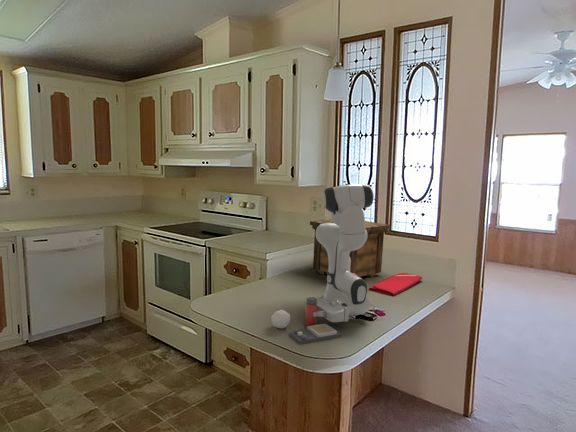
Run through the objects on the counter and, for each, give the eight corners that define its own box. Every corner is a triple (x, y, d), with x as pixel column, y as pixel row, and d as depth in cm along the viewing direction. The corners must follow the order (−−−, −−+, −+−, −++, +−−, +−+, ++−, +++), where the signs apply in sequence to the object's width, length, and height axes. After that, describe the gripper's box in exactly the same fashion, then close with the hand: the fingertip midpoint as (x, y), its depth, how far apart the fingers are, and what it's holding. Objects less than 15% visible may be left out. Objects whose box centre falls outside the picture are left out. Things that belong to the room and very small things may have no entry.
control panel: (329, 328, 174) (329, 322, 173) (341, 336, 166) (341, 330, 165) (289, 334, 165) (289, 329, 165) (299, 344, 157) (300, 338, 157)
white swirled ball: (288, 324, 176) (289, 306, 175) (291, 331, 169) (292, 313, 168) (270, 324, 175) (270, 306, 174) (271, 331, 168) (272, 313, 167)
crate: (350, 285, 237) (354, 229, 232) (307, 272, 262) (310, 221, 258) (386, 276, 260) (389, 224, 256) (343, 264, 286) (346, 217, 281)
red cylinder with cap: (312, 323, 178) (313, 296, 176) (317, 327, 174) (319, 299, 172) (303, 325, 176) (304, 297, 174) (308, 329, 172) (310, 301, 170)
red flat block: (367, 290, 230) (367, 284, 229) (398, 276, 261) (398, 271, 261) (393, 297, 220) (394, 290, 220) (422, 282, 252) (423, 276, 251)
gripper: (324, 293, 189) (298, 296, 182) (351, 308, 170) (322, 312, 164) (324, 306, 189) (297, 310, 183) (350, 323, 171) (321, 327, 165)
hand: (309, 311), depth 173 cm, fingers closed on red cylinder with cap, 4 cm apart
